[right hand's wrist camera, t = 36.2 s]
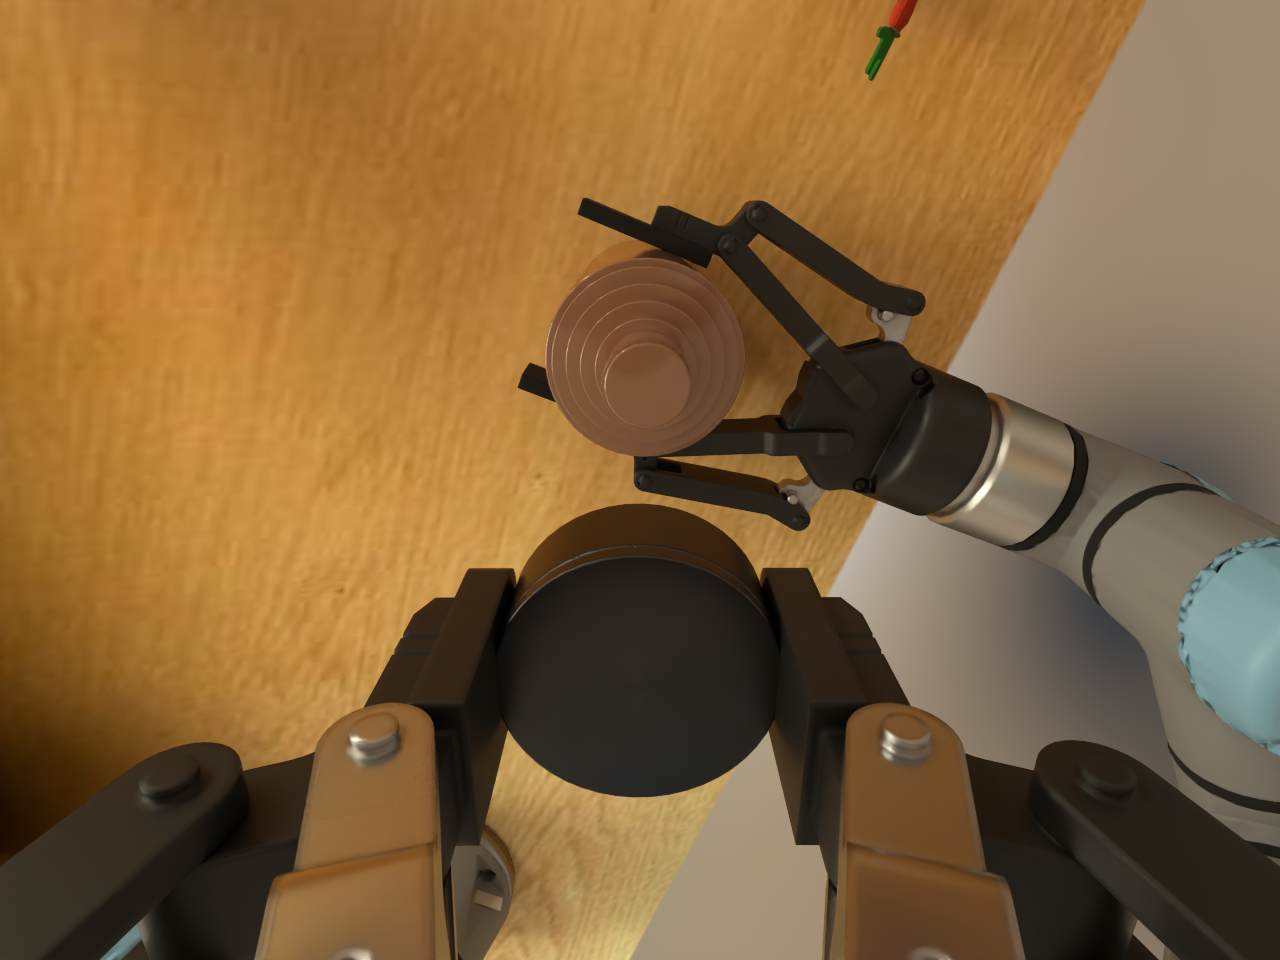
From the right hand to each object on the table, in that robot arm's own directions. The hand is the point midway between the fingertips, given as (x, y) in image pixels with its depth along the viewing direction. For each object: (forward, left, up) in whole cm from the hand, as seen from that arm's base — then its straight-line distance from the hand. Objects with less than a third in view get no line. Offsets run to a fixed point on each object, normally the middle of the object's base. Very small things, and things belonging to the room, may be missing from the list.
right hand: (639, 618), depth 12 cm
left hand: (-2, -4, -27) cm, 27 cm away
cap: (0, 0, +2) cm, 2 cm away
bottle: (0, 0, -33) cm, 33 cm away
